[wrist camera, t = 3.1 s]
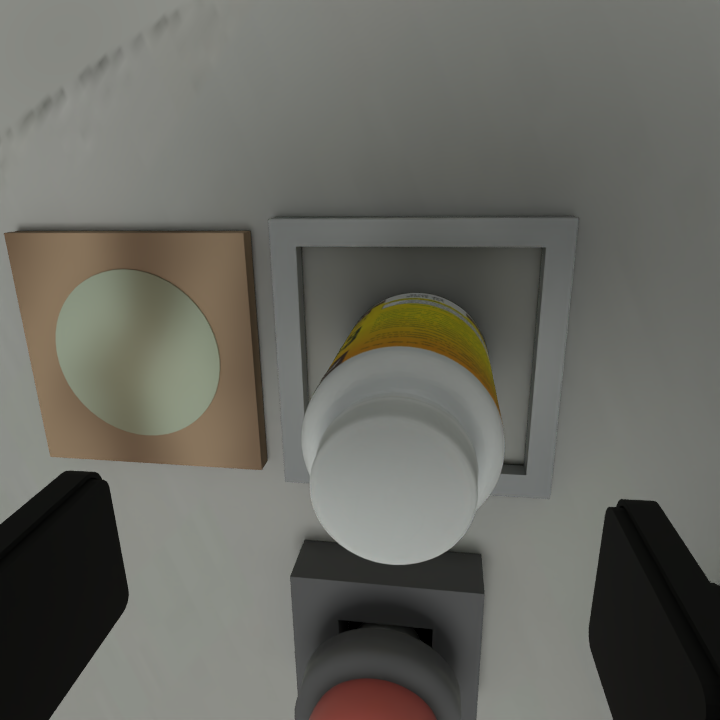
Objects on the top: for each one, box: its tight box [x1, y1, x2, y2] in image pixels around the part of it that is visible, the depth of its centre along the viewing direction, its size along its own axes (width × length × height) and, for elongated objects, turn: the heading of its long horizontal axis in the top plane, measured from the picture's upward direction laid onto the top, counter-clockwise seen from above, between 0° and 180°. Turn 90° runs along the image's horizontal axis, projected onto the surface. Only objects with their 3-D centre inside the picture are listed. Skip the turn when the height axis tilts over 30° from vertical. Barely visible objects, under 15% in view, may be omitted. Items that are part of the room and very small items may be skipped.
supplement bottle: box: [302, 293, 505, 565], centre depth 18 cm, size 6×6×10 cm
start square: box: [268, 216, 579, 499], centre depth 22 cm, size 11×11×1 cm
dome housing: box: [290, 540, 484, 720], centre depth 26 cm, size 8×8×2 cm
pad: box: [4, 231, 267, 470], centre depth 24 cm, size 10×10×1 cm
